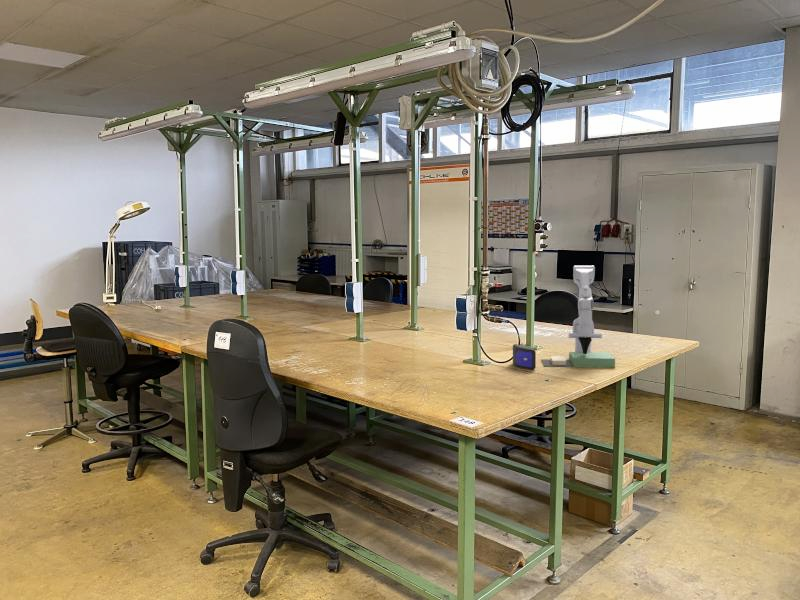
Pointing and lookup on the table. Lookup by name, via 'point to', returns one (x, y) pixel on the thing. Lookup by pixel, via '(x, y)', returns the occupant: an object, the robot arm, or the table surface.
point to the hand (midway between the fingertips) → (584, 353)
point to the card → (558, 360)
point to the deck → (592, 359)
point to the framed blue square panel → (524, 357)
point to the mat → (548, 364)
